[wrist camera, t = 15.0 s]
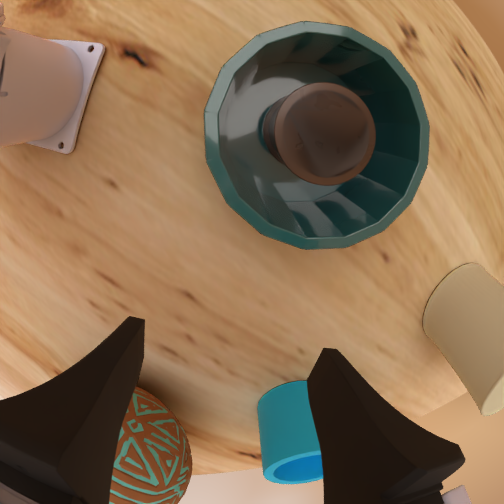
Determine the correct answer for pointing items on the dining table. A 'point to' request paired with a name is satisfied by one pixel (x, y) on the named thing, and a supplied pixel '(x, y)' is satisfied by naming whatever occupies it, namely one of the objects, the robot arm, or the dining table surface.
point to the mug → (289, 436)
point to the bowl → (277, 174)
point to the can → (471, 332)
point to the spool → (321, 133)
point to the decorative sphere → (150, 455)
